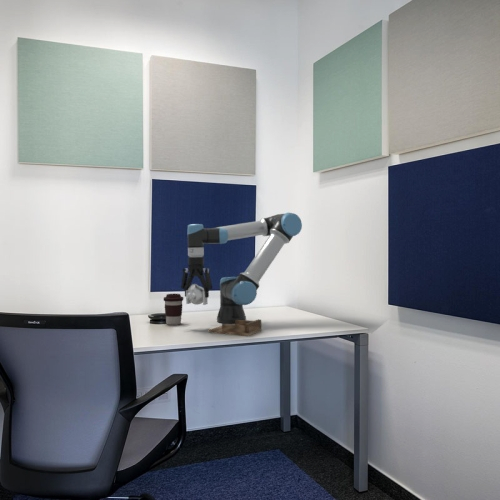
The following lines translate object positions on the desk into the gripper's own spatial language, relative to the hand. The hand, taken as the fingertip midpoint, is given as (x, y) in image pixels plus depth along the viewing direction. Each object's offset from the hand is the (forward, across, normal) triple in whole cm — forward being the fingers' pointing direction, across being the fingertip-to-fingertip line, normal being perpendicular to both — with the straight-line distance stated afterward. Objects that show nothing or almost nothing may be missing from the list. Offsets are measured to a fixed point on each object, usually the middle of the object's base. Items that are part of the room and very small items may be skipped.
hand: (196, 303), depth 225 cm
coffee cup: (+12, -18, +7) cm, 23 cm away
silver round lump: (+1, 0, 0) cm, 1 cm away
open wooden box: (+12, +20, +2) cm, 23 cm away
